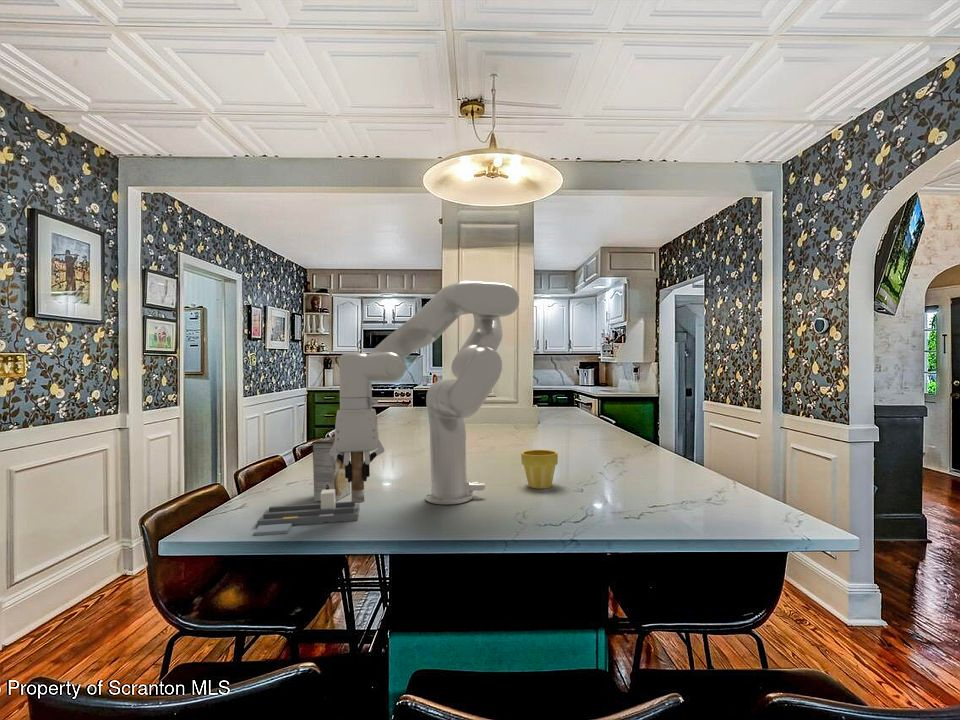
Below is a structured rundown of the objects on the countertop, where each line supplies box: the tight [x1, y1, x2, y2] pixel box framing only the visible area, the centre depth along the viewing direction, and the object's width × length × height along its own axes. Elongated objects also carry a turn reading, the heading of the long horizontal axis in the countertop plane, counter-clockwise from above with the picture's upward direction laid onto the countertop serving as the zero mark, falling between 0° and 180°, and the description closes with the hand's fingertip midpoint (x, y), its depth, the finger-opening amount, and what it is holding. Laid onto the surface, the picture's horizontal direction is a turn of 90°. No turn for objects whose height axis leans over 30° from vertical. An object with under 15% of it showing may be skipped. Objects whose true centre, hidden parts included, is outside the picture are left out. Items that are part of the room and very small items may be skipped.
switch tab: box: [320, 489, 337, 509], centre depth 125 cm, size 3×4×4 cm
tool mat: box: [253, 523, 293, 536], centre depth 116 cm, size 7×5×1 cm
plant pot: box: [520, 449, 559, 490], centre depth 151 cm, size 10×10×10 cm
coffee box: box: [311, 436, 351, 502], centre depth 143 cm, size 9×6×16 cm
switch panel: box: [256, 500, 361, 527], centre depth 125 cm, size 22×9×2 cm, turn 100°
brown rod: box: [350, 452, 365, 504], centre depth 126 cm, size 3×3×14 cm
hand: (357, 479), depth 126 cm, fingers closed on brown rod, 3 cm apart
